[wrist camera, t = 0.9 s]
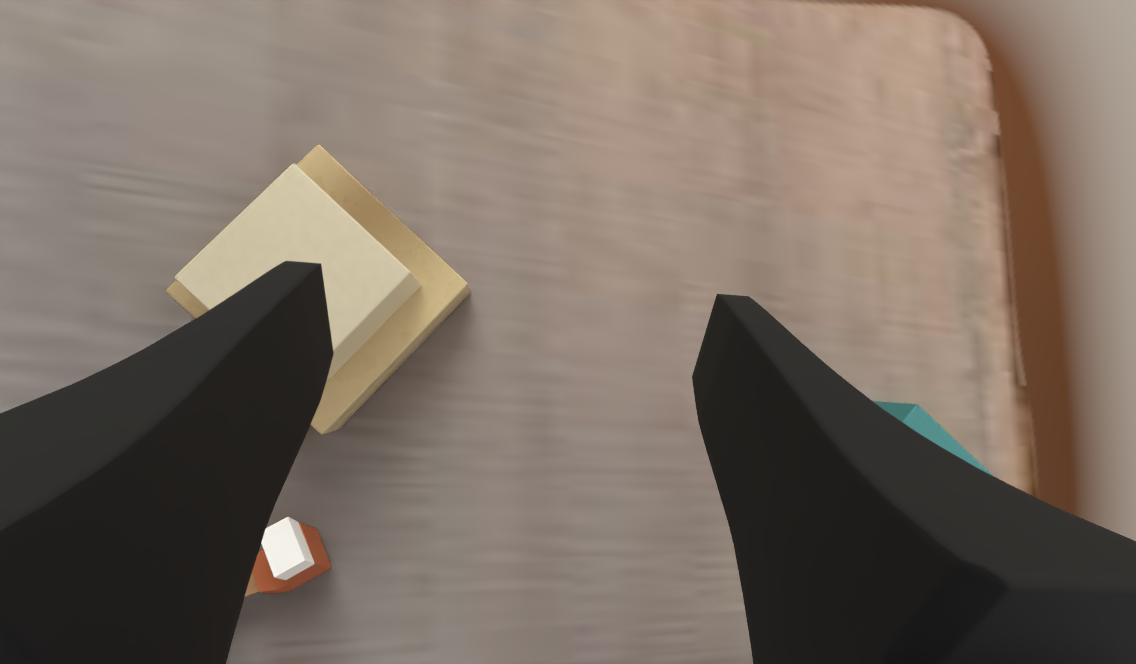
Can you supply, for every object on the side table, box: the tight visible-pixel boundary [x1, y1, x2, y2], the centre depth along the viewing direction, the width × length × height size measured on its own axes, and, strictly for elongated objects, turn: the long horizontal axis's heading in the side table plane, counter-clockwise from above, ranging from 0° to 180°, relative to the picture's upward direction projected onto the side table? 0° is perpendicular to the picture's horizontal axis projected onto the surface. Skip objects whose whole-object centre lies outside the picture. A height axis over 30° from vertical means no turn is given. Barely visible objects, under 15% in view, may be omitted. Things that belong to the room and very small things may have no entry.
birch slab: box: [166, 145, 471, 434], centre depth 26 cm, size 8×8×2 cm
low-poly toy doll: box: [245, 517, 332, 597], centre depth 24 cm, size 12×5×18 cm
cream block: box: [174, 164, 422, 382], centre depth 23 cm, size 6×6×3 cm
